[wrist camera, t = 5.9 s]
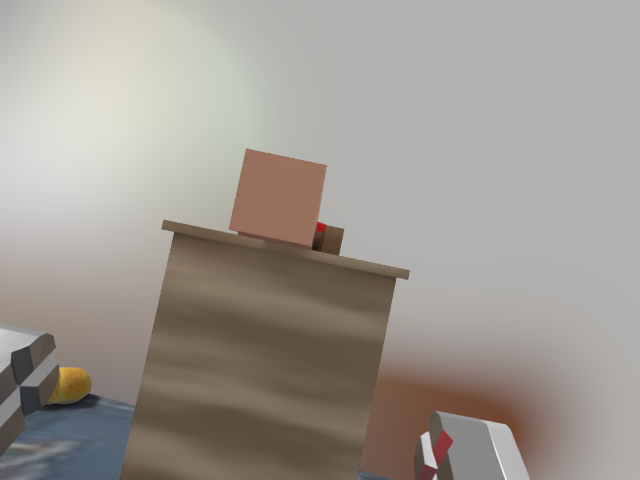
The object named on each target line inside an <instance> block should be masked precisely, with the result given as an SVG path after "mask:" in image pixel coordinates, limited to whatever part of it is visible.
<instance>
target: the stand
mask: <svg viewBox="0 0 640 480" xmlns="http://www.w3.org/2000/svg"><path fill="white" fill-rule="evenodd" d="M162 229H163V230H168V231H173V232H174V235H173V240H172V244H171V249H170V253H169V258H168V263H167V268H166V272H165V276H164V281H163V285H162V290H161V294H160V299H159V303H158V308H157V313H156V317H155V322H154V326H153V330H152V335H151V339H150V344H149V348H148V353H147V357H146V362H145V366H144V371H143V376H142V380H141V384H140V389H139V393H138V398H137V402H136V407H135V411H134V416H133V420H132V425H131V430H130V434H129V439H128V443H127V448H126V452H125V457H124V461H123V466H122V470H121V475H120V479H119V480H357V476H358V471H359V466H360V460H361V456H362V451H363V445H364V440H365V436H366V430H367V425H368V420H369V415H370V410H371V405H372V399H373V395H374V390H375V385H376V380H377V374H378V369H379V364H380V359H381V353H382V349H383V344H384V339H385V334H386V328H387V323H388V318H389V313H390V308H391V303H392V298H393V292H394V287H395V282H396V278H402V279H408V277H409V272H410V271H409V270H406V269H401V268H396V267H391V266H386V265H381V264H376V263H371V262H367V261H362V260H357V259H352V258H347V257H343V256H339V252H340V248H341V242H342V238H343V232H344V229H342V228H337V227H332V226H327V225H326V227H325V229H324V231H323V232H319V231H316V232H315V237H314V242H313V246H312V250H308V249H304V248H299V247H294V246H289V245H284V244H279V243H274V242H270V241H265V240H261V239H258V238H255V237H252V236H249V235H246V234H243V233H240V232H238V235H235V234H231V233H226V232H221V231H216V230H211V229H206V228H201V227H196V226H192V225H187V224H182V223H177V222H172V221H167V220H163V225H162Z"/></svg>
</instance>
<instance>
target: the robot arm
mask: <svg viewBox="0 0 640 480" xmlns="http://www.w3.org/2000/svg"><path fill="white" fill-rule="evenodd" d="M55 348H56V346H55V342H54V337H53V335H50V334H47V333H43V332H38V331H35V330H30V329H26V328H21V327H17V326H13V325H8V324H4V323H0V457H1V456H2V455H3V453H4V452H5V451H6V450H7V449H8V447H9V446H10V445H11V444H12V443H13V442H14V440H15V439H16V438H17V437H18V436H19V435H20V433H21V432H22V431H23V430H24V429H25V427H26V416H27V415H29V414H31V413H33V412H35V411H37V410H39V409H41V408H42V407H43V406H44V405H45V403H46V402H47V401H48V400H49V399H50V397H51V396H52V394H53V392H54V390H55V387H56V385H57V383H58V379H59V373H60V371H59V364H58V362H57V361H56V360H55V359H54V358H53V357H52V356H51V354H50V353H51V352H52V351H53V350H54V349H55ZM427 424H428V430H429V432H427V433H425V434H423V435H421V437H420V439H419V441H418V444H417V446H416V452H415V458H414V471H415V480H530V478H529V475H528V473H527V471H526V468H525V465H524V463H523V460H522V458H521V455H520V453H519V450H518V448H517V445H516V443H515V440H514V438H513V435H512V433H511V430H510V429H509V428H508V426H507V425H505V424H500V423H494V422H490V421H484V420H480V419H476V418H470V417H465V416H459V415H454V414H449V413H444V412H438V411H434V412H433V413H432V414H431V415H430V417H429V420H428V422H427Z"/></svg>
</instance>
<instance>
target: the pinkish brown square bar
mask: <svg viewBox="0 0 640 480" xmlns="http://www.w3.org/2000/svg"><path fill="white" fill-rule="evenodd" d="M326 167H327V166H326V165H323V164H317V163H313V162H308V161H303V160H298V159H294V158H289V157H284V156H279V155H274V154H270V153H264V152H260V151H255V150H251V149H246V152H245V156H244V161H243V166H242V171H241V175H240V180H239V184H238V189H237V193H236V198H235V203H234V208H233V212H232V217H231V221H230V226H229V229H230V230H233V231H237V232H240V233H243V234H246V235H249V236H252V237H255V238H258V239H261V240H265V241H270V242H274V243H279V244H284V245H289V246H294V247H299V248H304V249H308V250H312V246H313V242H314V237H315V232H316V227H317V220H318V215H319V209H320V203H321V197H322V191H323V185H324V179H325V173H326Z"/></svg>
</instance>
